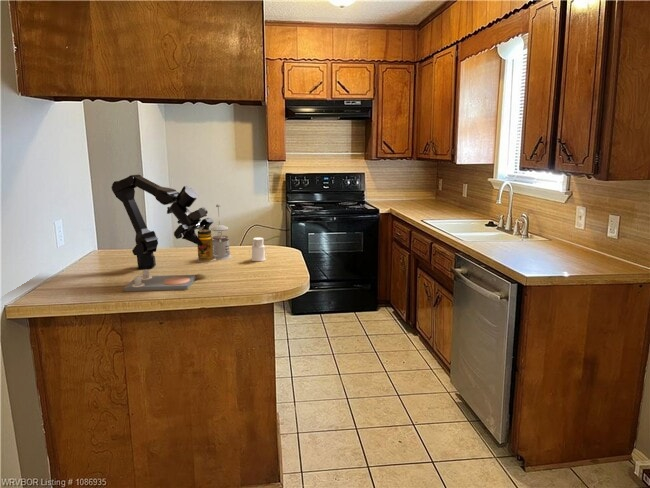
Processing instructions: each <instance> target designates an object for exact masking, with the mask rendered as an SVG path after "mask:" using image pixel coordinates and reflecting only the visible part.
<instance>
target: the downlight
mask: <svg viewBox="0 0 650 488" xmlns="http://www.w3.org/2000/svg"><path fill="white" fill-rule="evenodd" d="M252 242H253V243H252V245H251V251H250V249H249V251H248V252H249V256H250V257H251V258H250V261H253V262H264V261H266V260H267V257H266V256H265V255H266V254H268V253H267V251H266V245H264V237H254V238H253V239H252ZM265 251H266V252H265ZM265 253H266V254H265Z"/></svg>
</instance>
